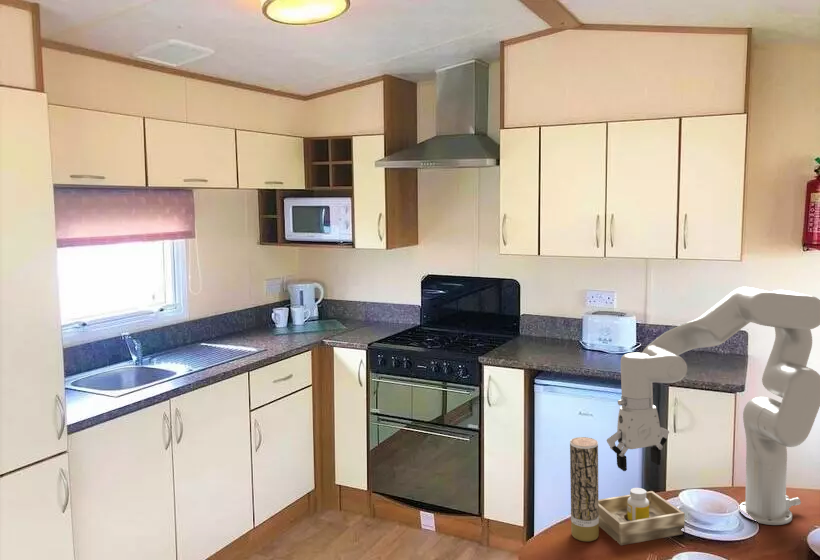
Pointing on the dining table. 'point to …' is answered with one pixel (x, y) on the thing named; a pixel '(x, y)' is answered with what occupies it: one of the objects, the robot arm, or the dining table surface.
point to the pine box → (640, 520)
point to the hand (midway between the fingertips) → (639, 466)
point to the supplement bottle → (637, 505)
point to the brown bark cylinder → (584, 488)
